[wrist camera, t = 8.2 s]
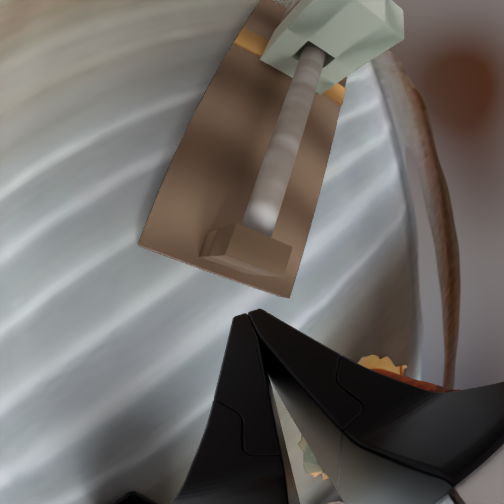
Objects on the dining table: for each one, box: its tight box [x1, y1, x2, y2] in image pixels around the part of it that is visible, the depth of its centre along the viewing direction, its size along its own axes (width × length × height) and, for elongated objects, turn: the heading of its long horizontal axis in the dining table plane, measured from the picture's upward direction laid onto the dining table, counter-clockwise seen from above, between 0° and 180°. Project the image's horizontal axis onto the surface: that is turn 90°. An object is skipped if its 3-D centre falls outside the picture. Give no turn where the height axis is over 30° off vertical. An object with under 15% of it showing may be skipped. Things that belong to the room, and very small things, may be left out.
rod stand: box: [138, 0, 347, 298], centre depth 18 cm, size 24×10×8 cm, turn 161°
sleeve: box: [260, 0, 404, 95], centre depth 16 cm, size 4×5×9 cm
